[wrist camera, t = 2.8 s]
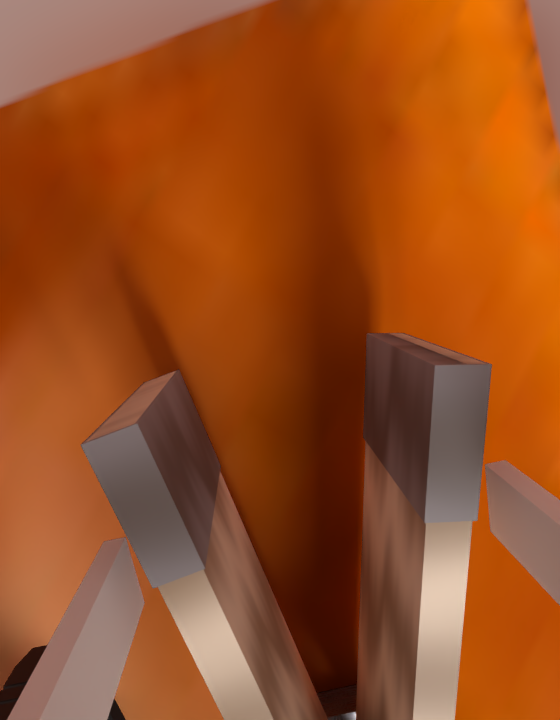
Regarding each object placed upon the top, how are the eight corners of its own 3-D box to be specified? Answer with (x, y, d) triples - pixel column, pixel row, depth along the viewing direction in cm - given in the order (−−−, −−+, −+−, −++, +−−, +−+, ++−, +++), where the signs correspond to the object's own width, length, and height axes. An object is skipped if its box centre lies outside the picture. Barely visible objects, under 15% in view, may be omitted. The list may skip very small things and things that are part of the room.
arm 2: (335, 731, 23) (373, 927, 16) (306, 742, 23) (331, 943, 16) (179, 369, 19) (137, 423, 12) (143, 382, 19) (80, 445, 12)
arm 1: (383, 725, 24) (440, 917, 16) (353, 728, 23) (398, 921, 16) (403, 332, 19) (491, 364, 12) (366, 333, 19) (434, 365, 12)
